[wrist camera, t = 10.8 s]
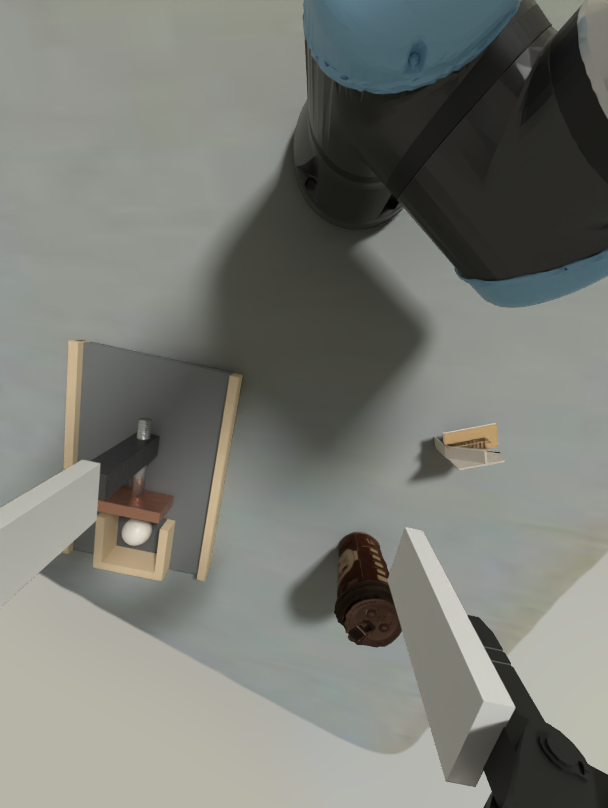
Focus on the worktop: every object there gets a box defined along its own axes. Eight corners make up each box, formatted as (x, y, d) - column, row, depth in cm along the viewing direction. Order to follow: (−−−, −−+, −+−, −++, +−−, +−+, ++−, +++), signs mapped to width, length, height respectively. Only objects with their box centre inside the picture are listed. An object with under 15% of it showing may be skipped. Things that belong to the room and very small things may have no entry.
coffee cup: (329, 572, 52) (334, 652, 39) (329, 525, 50) (335, 594, 37) (385, 572, 51) (408, 653, 39) (387, 525, 49) (412, 594, 37)
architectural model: (431, 425, 46) (453, 444, 39) (481, 416, 45) (513, 433, 38) (434, 447, 47) (456, 470, 40) (483, 438, 46) (515, 460, 39)
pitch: (82, 339, 44) (59, 341, 40) (242, 374, 44) (236, 379, 41) (72, 541, 52) (52, 559, 48) (209, 569, 52) (201, 589, 48)
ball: (116, 548, 47) (131, 526, 51) (144, 554, 47) (157, 531, 51) (114, 529, 45) (130, 508, 49) (143, 535, 45) (156, 513, 49)
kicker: (117, 409, 44) (48, 440, 33) (183, 423, 44) (137, 458, 33) (110, 500, 48) (45, 557, 36) (171, 512, 48) (126, 573, 36)
